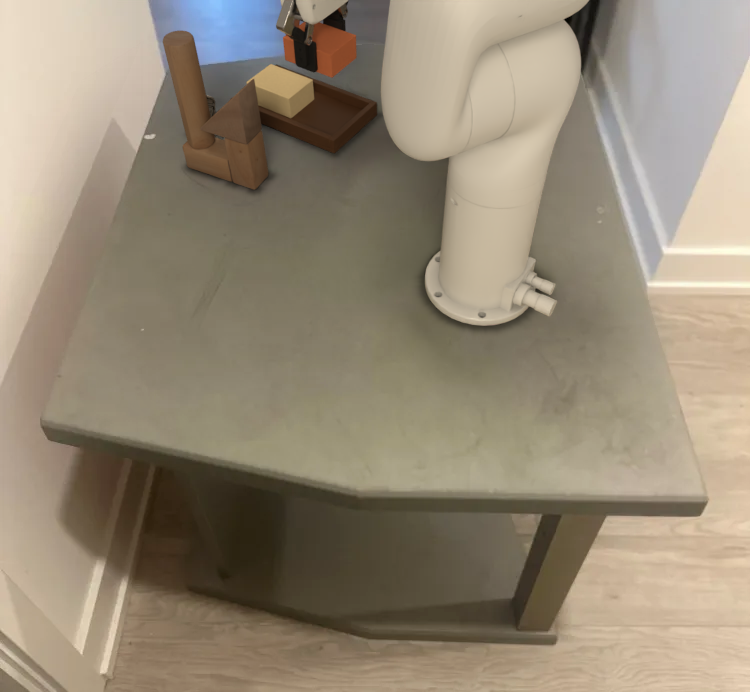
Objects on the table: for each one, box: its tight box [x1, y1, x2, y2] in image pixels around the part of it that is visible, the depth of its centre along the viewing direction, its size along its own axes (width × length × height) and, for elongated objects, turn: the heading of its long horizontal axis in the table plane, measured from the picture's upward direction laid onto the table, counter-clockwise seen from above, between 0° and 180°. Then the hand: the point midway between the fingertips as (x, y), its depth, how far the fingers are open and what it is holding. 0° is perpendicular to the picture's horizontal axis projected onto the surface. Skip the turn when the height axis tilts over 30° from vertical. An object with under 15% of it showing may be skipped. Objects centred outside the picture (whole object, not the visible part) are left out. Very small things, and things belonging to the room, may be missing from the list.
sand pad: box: [245, 63, 314, 118], centre depth 106 cm, size 8×6×3 cm
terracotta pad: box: [282, 21, 358, 79], centre depth 96 cm, size 8×6×3 cm
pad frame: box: [230, 64, 378, 154], centre depth 105 cm, size 18×11×2 cm, turn 57°
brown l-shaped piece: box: [162, 30, 269, 190], centre depth 91 cm, size 4×11×18 cm, turn 64°
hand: (321, 55), depth 97 cm, fingers closed on terracotta pad, 5 cm apart
